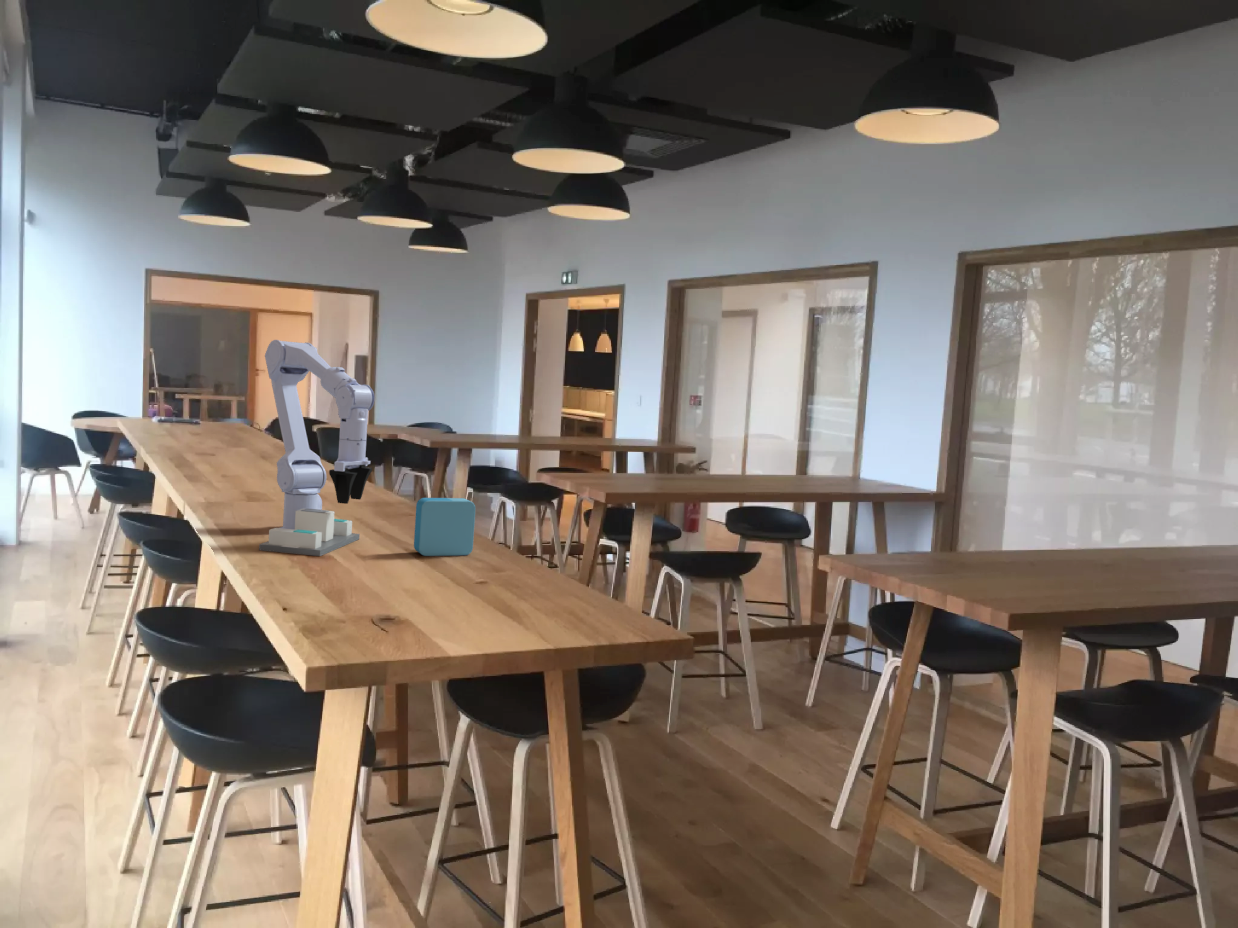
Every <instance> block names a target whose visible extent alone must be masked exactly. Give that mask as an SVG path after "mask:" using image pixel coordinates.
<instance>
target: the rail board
mask: <svg viewBox="0 0 1238 928" xmlns="http://www.w3.org/2000/svg"><path fill="white" fill-rule="evenodd" d="M321 540H322V532H317V531H309V530H294V529H284V528H280V527H274V528H271V529H268V540H267V541H265V542H262V543H259V544H258V551H266V552H274V553H276V552H277V553H284V554H285V553H287V554H293V555H294V554H295V555H305V556H314V557H315V556H316V557H321V556H323V555H326V554H328V553H331V552H334V551H335V550H338V549H340V548H342V547H345V546H348V545H349V544H352V543H354V542H356V541H358V540H360V533H353V521H352V520H348V519H342V518H341V519H339V518H334V530H333V539H331V540H329V541H326V542H324V541H321Z"/></svg>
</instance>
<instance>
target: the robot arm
mask: <svg viewBox="0 0 1238 928" xmlns="http://www.w3.org/2000/svg"><path fill="white" fill-rule="evenodd" d="M264 359H265V363H266V369H267V372H268V373H267V374H268V377H269V379H270V381H271V382H270V383H271V387H272V392H273V397H274V401H275V403H274V404H275V407H276V412H277V418H278V423H279V428H280V432H281V433H280V434H281V437H282V442H283V447H284V450H285V451H284V452H285V453H284V454H283V455H282V456H281V457H280V458H279V459H278V460H277V462H276V467H277V471H276V472H277V473H276V482H277V485H278V487H279V489H280V490H281V493H284V497H283V498H284V499H283V519H282V521H283V522H282V526H281V527H279V528H284V529H294V530H295V513H296V511H297V510H300V509H318V510H323V500H322V498H321V496H320V495H319V494H321V490H322V489H323V488H324V487H325V485H326V483H327V471H326V469H325V467H324V466H323V464H322V460H321V457H320V456H319V455H318V454H317V453H315V452H314V451H313V450H311V448H310V445H309V440H308V435H307V431H306V425H305V421H304V417H303V416H304V415H303V411H302V407H301V401H300V397H299V396H300V395H299V392H298V387H297V386H298V384H299V382H302V381H304V379H305V378H306V376H307V375H308V374H309V372H310V373H312V374H313V375H314V376H315V377H317V378H318V379H320V386H321V388H323V389H324V390H325V392H327V393H328V394H330V395H331V396H332V397H333V398H334V399H335V404H336V406H337V409H338V411H337V412H338V413H337V415H338V418H339V419H340V422H339V423H340V424H339V437H338V439H339V440H338V457H337V459H336V461H334V464H333V465H334V469H329V470H328V474H329V476H330V478H331V480H332V484H333V485H334V490H335V496H336V499H337V500H336V502H337V503H338V504H349V502H350V499H351V500H362V497H363V494H364V489H365V487H366V483H367V481H368V478H369V477H370V475H371V473H372V472H373V467H368V465H371V460H369V458H368V457H366V451H367V439H368V438H367V434H368V432H367V431H368V419H369V411H370V410H372V409H373V407H374V405H375V401H376V397H375V393H374V392H375V391H373V389H372V387H371V386H370V385H369V384H359V383H358V381H357V379H355V378H354V377H351V376H350V375H349V374H348V373H346V372H345V371H346V369H345V368H343V366H341V367H340V366H333V367H332V366H331V365H329V363H328V362H327V361H326V360H325V359H324V358H323V357H322V356H321V355H320V354H319V353H318V347H316V346H314V345H313V344H312V343H310V342H297V341H296V342H295V341H294V342H293V341H286V340H279V339H273V340H271V341H270V342H269V344H268V346H267V349H266V351H265V354H264Z"/></svg>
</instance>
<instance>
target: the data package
mask: <svg viewBox="0 0 1238 928" xmlns="http://www.w3.org/2000/svg"><path fill="white" fill-rule="evenodd" d="M415 506H416V507H415V520H414V522H415V523H414V538H413V548H414V549H415V551H416V552H417V553H419V554H420V555H422V556H423V557H440V556H441V557H444V556H447V557H450V556H451V557H452V556H453V557H454V556H469V555H470V554H471V553H472V552H473V549H474V538H475V537H474V535H475V524H476V523H475V522H476V505H475V503H474V502H473V501H471V500H469V499H467V498H464V497H463V498H462V497H422V498H420V499H418V500H417V502H416V505H415Z"/></svg>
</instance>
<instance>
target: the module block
mask: <svg viewBox="0 0 1238 928" xmlns="http://www.w3.org/2000/svg"><path fill="white" fill-rule="evenodd" d="M334 519H335V511H334V510H327V509H322V510H318V509H300V510H297V511H296V513H295V530H309V531H317V532H322V540H321V541H324V542H326V541H329V540H331V539H333V530H334Z"/></svg>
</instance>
